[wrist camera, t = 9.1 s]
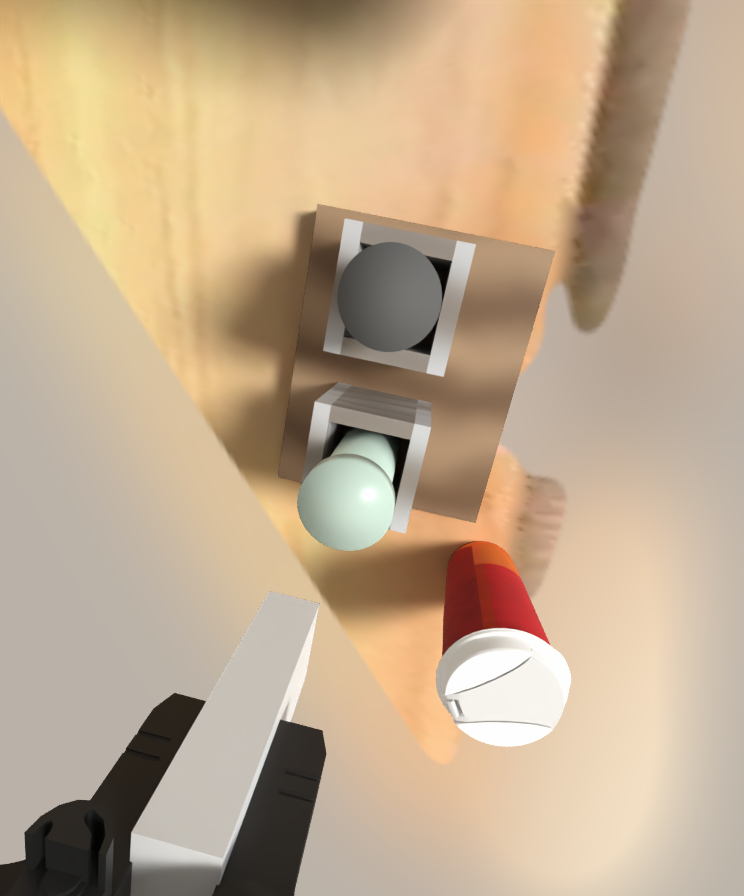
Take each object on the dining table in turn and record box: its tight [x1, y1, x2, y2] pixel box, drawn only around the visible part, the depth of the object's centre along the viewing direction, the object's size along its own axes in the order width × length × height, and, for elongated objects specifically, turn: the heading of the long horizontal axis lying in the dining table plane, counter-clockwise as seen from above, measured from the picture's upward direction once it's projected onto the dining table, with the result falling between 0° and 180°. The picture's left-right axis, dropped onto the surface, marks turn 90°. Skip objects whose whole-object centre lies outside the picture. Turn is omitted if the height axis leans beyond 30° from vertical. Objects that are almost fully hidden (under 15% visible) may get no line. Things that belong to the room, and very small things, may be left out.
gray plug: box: [337, 242, 442, 352], centre depth 27 cm, size 5×5×11 cm
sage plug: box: [297, 427, 400, 551], centre depth 29 cm, size 5×5×11 cm
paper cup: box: [436, 541, 571, 746], centre depth 34 cm, size 8×8×14 cm
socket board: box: [278, 204, 555, 533], centre depth 32 cm, size 20×16×10 cm
